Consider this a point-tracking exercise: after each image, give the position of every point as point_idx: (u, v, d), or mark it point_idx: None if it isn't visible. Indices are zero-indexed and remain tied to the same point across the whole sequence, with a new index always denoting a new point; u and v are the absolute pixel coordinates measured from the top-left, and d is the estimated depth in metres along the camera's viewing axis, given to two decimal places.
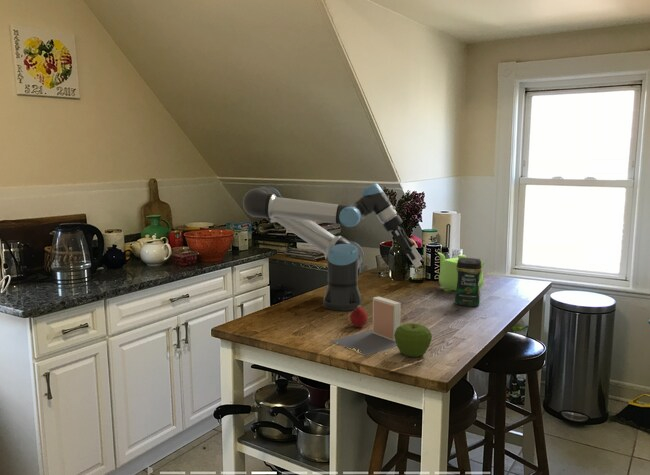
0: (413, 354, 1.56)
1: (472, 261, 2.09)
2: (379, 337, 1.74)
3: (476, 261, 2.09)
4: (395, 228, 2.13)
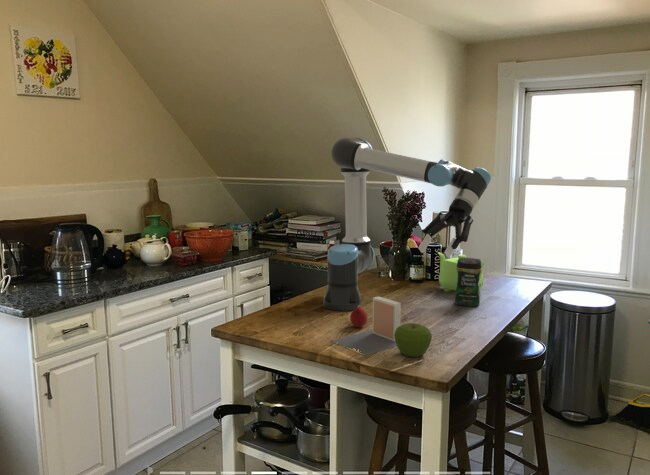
0: (413, 354, 1.56)
1: (472, 261, 2.09)
2: (379, 337, 1.74)
3: (476, 261, 2.09)
4: (466, 214, 1.89)
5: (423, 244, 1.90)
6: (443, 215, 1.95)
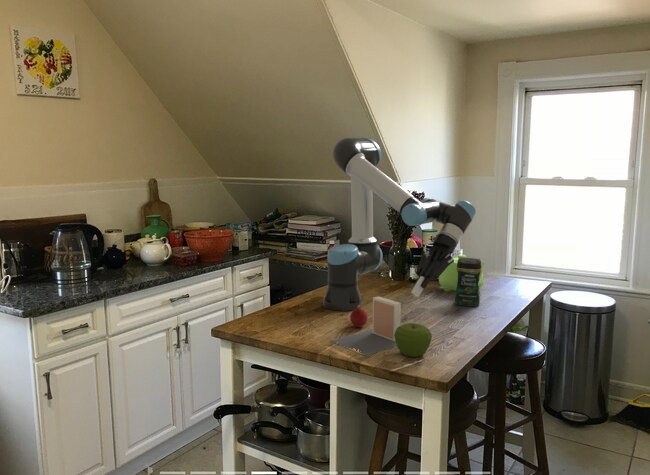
0: (413, 354, 1.56)
1: (472, 261, 2.09)
2: (379, 337, 1.74)
3: (476, 261, 2.09)
4: (451, 250, 1.84)
5: None
6: (427, 252, 1.89)
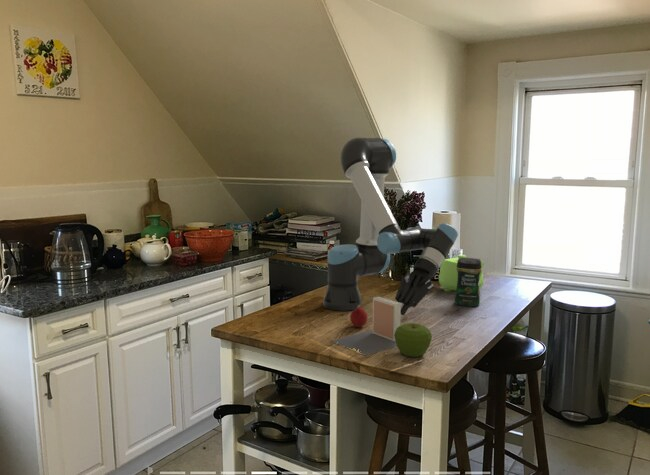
0: (413, 354, 1.56)
1: (472, 261, 2.09)
2: (379, 337, 1.74)
3: (476, 261, 2.09)
4: (431, 275, 1.79)
5: None
6: (407, 277, 1.84)
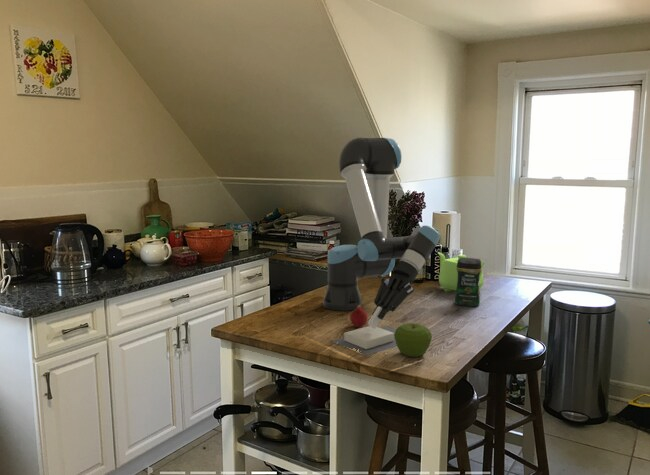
0: (413, 354, 1.56)
1: (472, 261, 2.09)
2: None
3: (476, 261, 2.09)
4: (411, 279, 1.74)
5: None
6: (387, 280, 1.79)
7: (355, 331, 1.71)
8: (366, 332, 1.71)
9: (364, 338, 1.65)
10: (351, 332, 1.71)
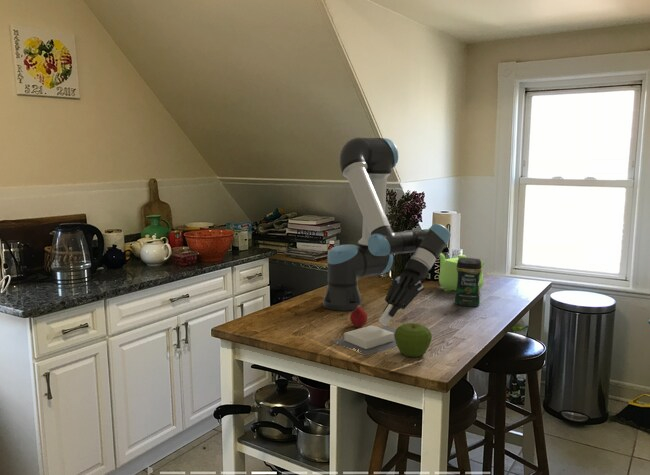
0: (413, 354, 1.56)
1: (472, 261, 2.09)
2: None
3: (476, 261, 2.09)
4: (421, 277, 1.76)
5: None
6: (398, 278, 1.81)
7: (355, 331, 1.71)
8: (366, 332, 1.71)
9: (364, 338, 1.65)
10: (351, 332, 1.71)
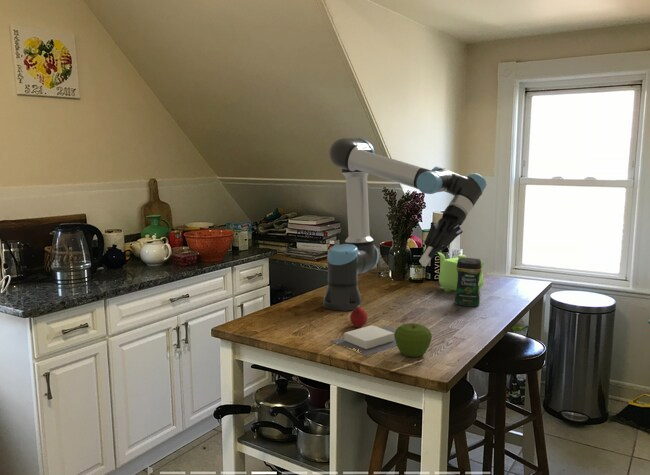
0: (413, 354, 1.56)
1: (472, 261, 2.09)
2: None
3: (476, 261, 2.09)
4: (460, 221, 1.85)
5: None
6: (436, 224, 1.90)
7: (355, 331, 1.71)
8: (366, 332, 1.71)
9: (364, 338, 1.65)
10: (351, 332, 1.71)
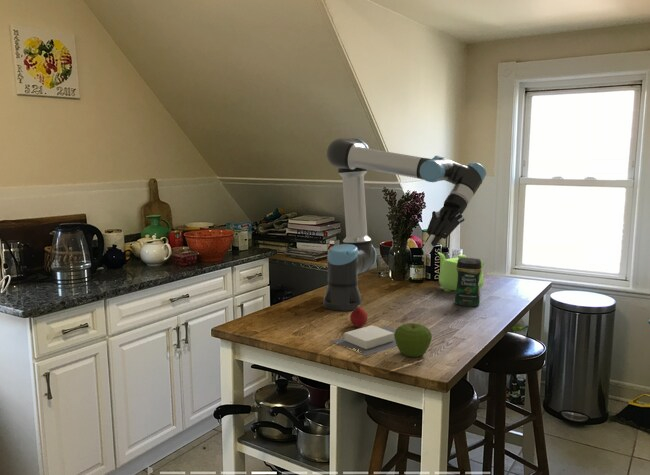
0: (413, 354, 1.56)
1: (472, 261, 2.09)
2: None
3: (476, 261, 2.09)
4: (461, 210, 1.87)
5: None
6: (437, 213, 1.92)
7: (355, 331, 1.71)
8: (366, 332, 1.71)
9: (364, 338, 1.65)
10: (351, 332, 1.71)
